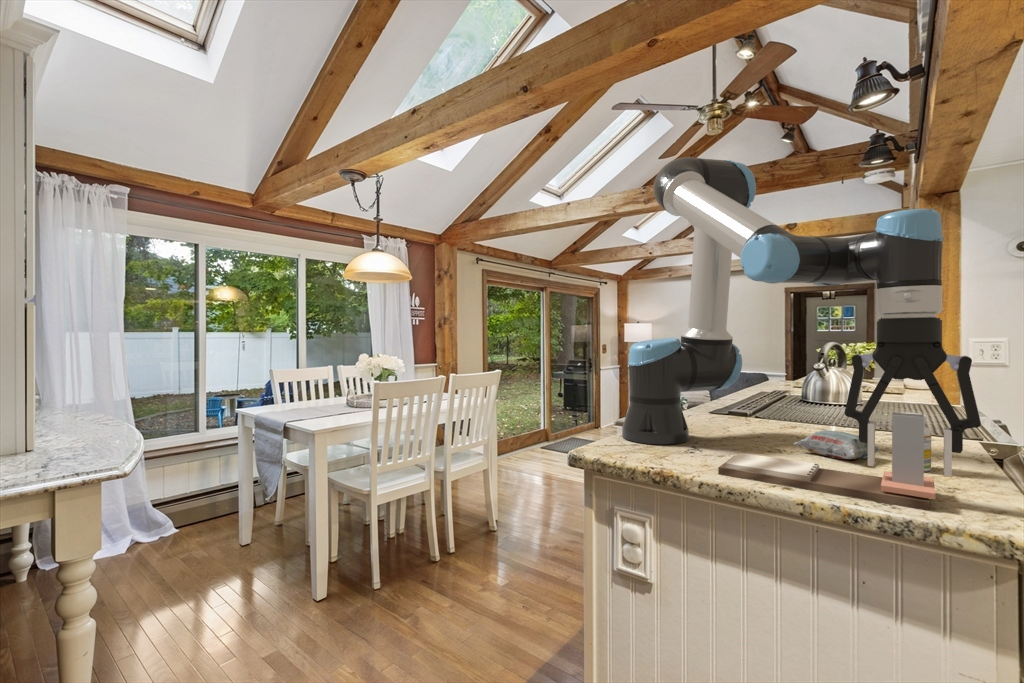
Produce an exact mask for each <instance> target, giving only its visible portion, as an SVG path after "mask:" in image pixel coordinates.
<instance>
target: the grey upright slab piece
mask: <svg viewBox="0 0 1024 683" xmlns="http://www.w3.org/2000/svg"><path fill="white" fill-rule="evenodd" d="M908 413H909V412H892V414H891V471H886V470H883V473H882V477H883V478H882V482H881V491H886V492H892V493H898V494H904V495H910V496H917V497H923V498H929V500H936V488H935V485H936V484H935V479H934V477H927V476H925V472H924V426H925V424H924V415H925V414H923V415H921V414H922V413H917V414H908Z"/></svg>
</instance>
